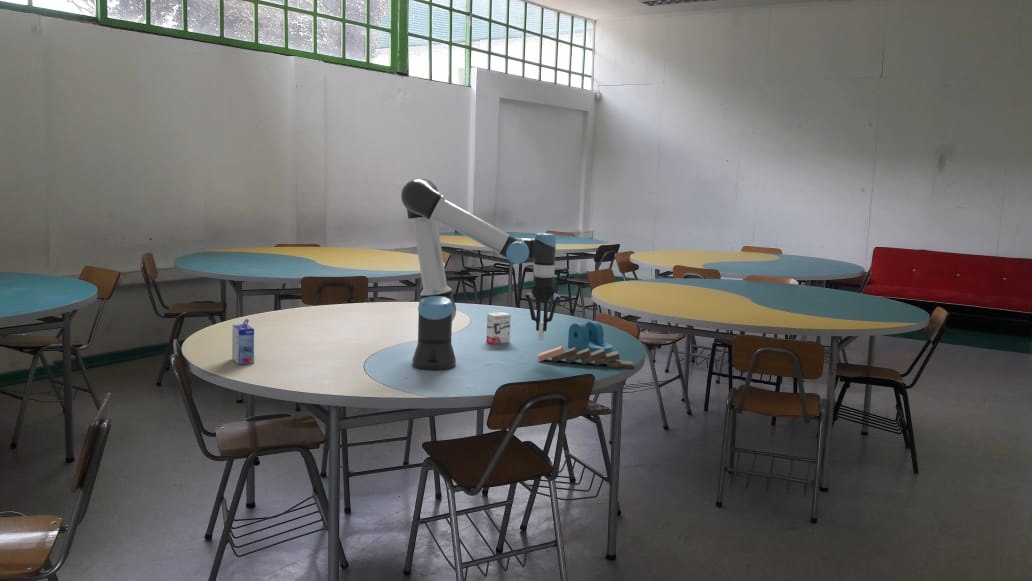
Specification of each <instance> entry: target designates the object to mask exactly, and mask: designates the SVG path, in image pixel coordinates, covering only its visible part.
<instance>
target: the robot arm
mask: <svg viewBox="0 0 1032 581" xmlns="http://www.w3.org/2000/svg"><path fill="white" fill-rule="evenodd" d="M400 199H401V202H402V204H403V206H404V208H405V209H406V213H407V218H408V221H410V222H411V223H412V224H413V232H414V237H415V243H416V248H417V249H416V250H417V256H418V263H419V268H420V276H421V282H422V287H423V288H422V290H421V292H420V294H419V296H420V300H419V303H418V307H417V311H418V319H417V320H418V324H417V325H418V326H417V328H418V329H417V345H416V348H415V351H414V355H413V357H412V360H411V361H412V362H411V363H412V367H415V368H416V369H417V368H418V369H420V370H421V369H422V370H426V371H427V370H429V371H442V370H449V369H452V368H455V367H456V364H457V363H456V362H457V358H456V355H455V352H454V349H453V345H452V337H453V336H452V333H453V332H452V330H453V329H452V328H453V322H454V320H455V317H456V313H457V306H456V303H455V301H454V297H453V290H452V288H451V287H450V286H449V285H447V277H446V270H445V264H444V258H443V250H442V244H441V238H440V232H439V231H440V230H439V225H438V222H439V223H441V224H443V225H444V226H446V227H448V228H450V229H452V230H455V232H458V233H459V234H461V235H463V236H465V237H467V238H468V239H471V240H473V241H475V242H476V243H478V244H480V245H481V246H484V247H486V248H488V249H489V250H492V251H493V252H495V253H497V254H498V255H500V256H501V257H502V259H507V260H509V262H510V263H513V264H516V265H518V264H523V263H524V262H526V260H533V275H534V276H533V282H532V289H531V291H530V292H528V293H526V294H525V295H524V296H525V298H526V299H527V303H528V308H529V313H530V314H529V315H530V318H531V321H534V322H536V323H535V324H536V325H535V331H536V332H538V341H543V340H544V333H545V332H547V330H548V323H549V322H552V320H553V317H554V314H555V312H556V308H557V305H558V301H559V300H560V299H561V295H558V294H557V293H556V291H555V287H554V286H555V277H554V276H555V269H556V268H555V265H556V264H555V263H556V250H557V249H556V246H557V245H556V243H557V241H556V239H557V238H556V234H554V233H547V232H537V233H535V235H534V238H533V237H532V238H526V237H525V238H524V237H515V236H512V235H510V234H509V233H507V232H505V231H503V230H502V229H501V228H500V229H499V228H498V227H496V226H494V225H492V224H491V223H488V222H487V221H485V220H483V219H482V218H479V216H478V217H477V216H475V215H474V214H472V213H470V212H469V211H466V210H465V209H463V208H461V207H459V206H458V205H457V204H454V203H453V202H450V201H448V200H447V199H446V198H445V195H444V194H441V193H440V192H439V189H438V188H437V186H436V185H435V184H434V183H433V182H432V181H431V180H428V179H425V178H418V179H412V180H410V181H408V182H407V183H406V184H404V186H403V187H402V189H401V196H400ZM533 298H534V299H535V301H536V313H535V308H534V307H535V306H534V302H533ZM551 299H552V300H553V302H552V305H551V306H552V307H551V309H550V313H549V312H548V311H549V301H550V300H551ZM542 302H543V319H542V318H541V313H542ZM548 313H549V316H548ZM541 319H542V320H543V321H541Z"/></svg>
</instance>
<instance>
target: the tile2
mask: <svg viewBox="0 0 1032 581" xmlns="http://www.w3.org/2000/svg"><path fill="white" fill-rule="evenodd" d="M577 352H578V350H577V349H576V347H573V348H568V349H565V350H564V352H563V354H560V355H557V356H554V357H551V358H550V359H551V360H552V363H553V364H554V363H556V362H559V361H562V360H565V358H568V357H571V356H574V355H577Z"/></svg>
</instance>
